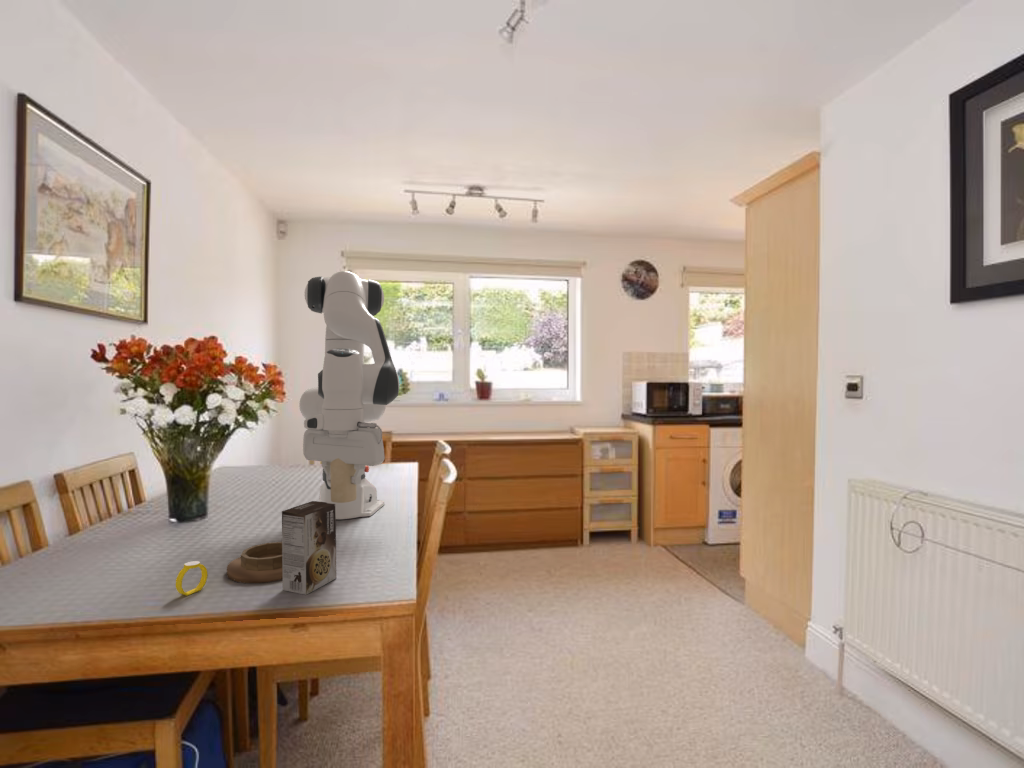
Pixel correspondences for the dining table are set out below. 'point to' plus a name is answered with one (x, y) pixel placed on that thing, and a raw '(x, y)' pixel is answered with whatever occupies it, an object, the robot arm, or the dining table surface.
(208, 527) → the dining table surface
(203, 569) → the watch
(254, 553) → the candle plate
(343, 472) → the candle
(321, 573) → the coffee box
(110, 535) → the dining table surface
